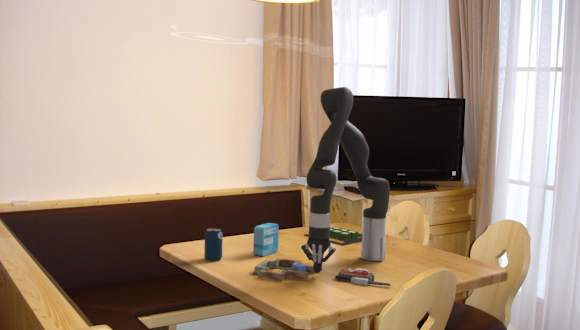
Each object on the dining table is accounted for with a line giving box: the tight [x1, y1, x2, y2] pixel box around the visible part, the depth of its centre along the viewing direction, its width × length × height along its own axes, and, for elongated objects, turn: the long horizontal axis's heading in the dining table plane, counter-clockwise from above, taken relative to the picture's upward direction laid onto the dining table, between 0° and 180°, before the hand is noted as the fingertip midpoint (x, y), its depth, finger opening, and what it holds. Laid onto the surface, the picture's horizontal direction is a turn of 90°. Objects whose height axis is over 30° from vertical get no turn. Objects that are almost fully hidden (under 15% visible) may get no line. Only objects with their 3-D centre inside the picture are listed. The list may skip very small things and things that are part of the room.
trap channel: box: [254, 257, 316, 282], centre depth 218 cm, size 20×20×2 cm
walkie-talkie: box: [334, 267, 392, 287], centre depth 210 cm, size 9×4×20 cm
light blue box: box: [253, 222, 280, 257], centre depth 245 cm, size 12×4×12 cm, turn 149°
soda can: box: [203, 227, 224, 262], centre depth 233 cm, size 7×7×12 cm
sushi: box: [303, 226, 362, 247], centre depth 281 cm, size 25×25×4 cm
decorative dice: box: [291, 262, 306, 272], centre depth 216 cm, size 4×4×4 cm
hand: (317, 272), depth 214 cm, fingers closed
